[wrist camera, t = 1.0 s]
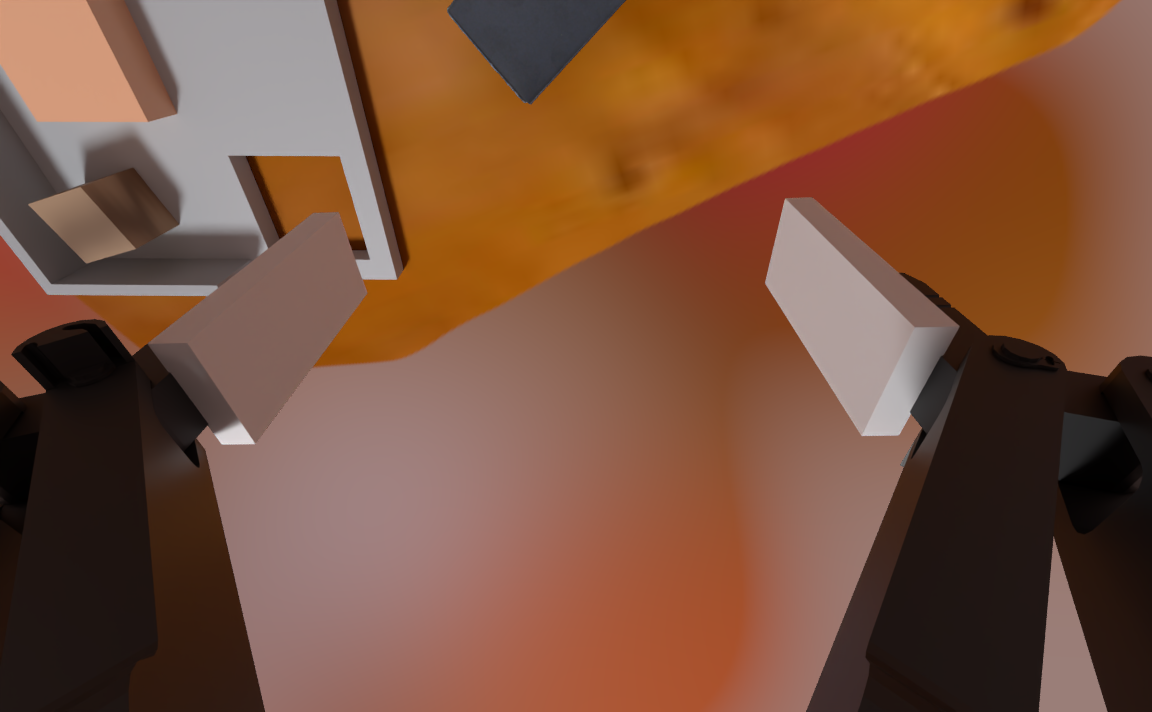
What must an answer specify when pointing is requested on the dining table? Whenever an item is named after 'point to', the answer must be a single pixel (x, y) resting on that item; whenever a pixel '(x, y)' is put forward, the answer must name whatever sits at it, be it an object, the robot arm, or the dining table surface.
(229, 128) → the cubby deck
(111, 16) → the terracotta tile
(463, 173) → the dining table surface
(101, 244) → the walnut block
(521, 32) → the box
